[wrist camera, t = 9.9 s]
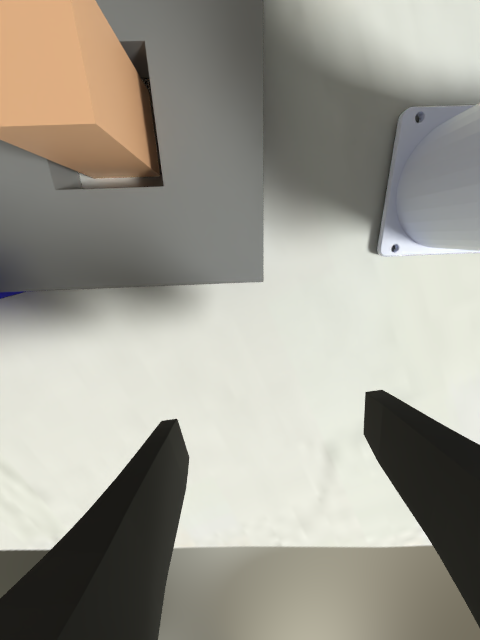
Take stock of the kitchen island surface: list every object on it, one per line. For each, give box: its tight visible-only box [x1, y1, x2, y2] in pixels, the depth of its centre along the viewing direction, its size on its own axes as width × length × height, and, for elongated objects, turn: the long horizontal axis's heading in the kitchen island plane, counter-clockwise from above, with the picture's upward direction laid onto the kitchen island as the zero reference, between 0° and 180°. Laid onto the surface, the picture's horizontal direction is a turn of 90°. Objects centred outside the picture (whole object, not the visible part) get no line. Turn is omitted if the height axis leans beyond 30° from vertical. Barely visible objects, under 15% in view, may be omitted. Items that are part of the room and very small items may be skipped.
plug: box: [0, 0, 160, 178], centre depth 10 cm, size 4×4×7 cm
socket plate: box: [0, 0, 263, 292], centre depth 12 cm, size 16×16×2 cm
